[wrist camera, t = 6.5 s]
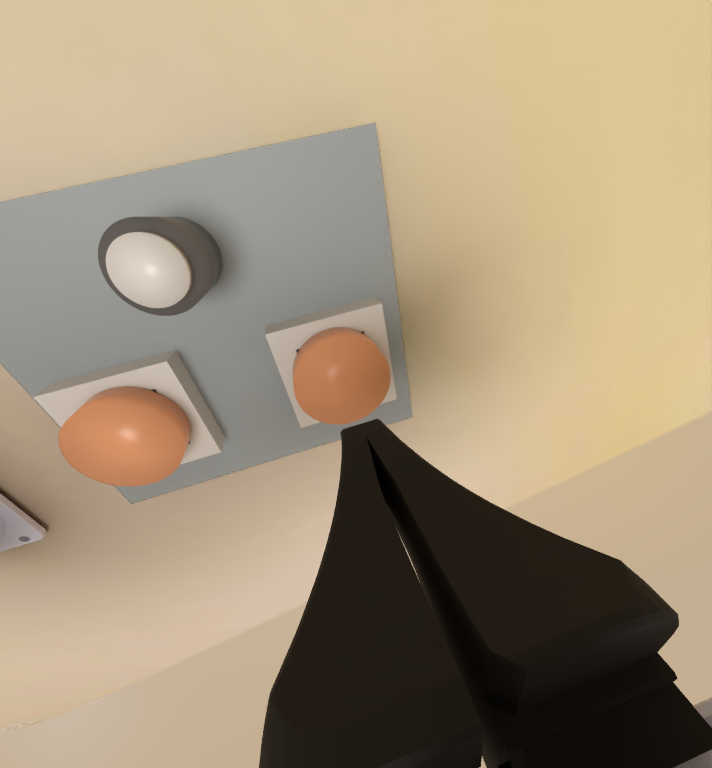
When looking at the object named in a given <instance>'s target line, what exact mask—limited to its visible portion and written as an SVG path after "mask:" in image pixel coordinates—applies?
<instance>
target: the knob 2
mask: <svg viewBox="0 0 712 768" xmlns="http://www.w3.org/2000/svg"><path fill="white" fill-rule="evenodd" d="M292 374H293V385H294V393H295V397H296V400H297V402H298V404H299V405H300V407H301V408H302V409H303V411H304V412H305V413H307V414H308V415H309V416H310V417H312V418H313V419H315V420H318V421H320V422H323V423H327V424H336V425H337V424H348V423H352V422H355V421H358V420H360V419H362V418H364V417H366V416H368V415H369V414H371V413H372V412H373V411H374V410H375V409H376V408H377V407H378V406H379V405H380V404H381V403H382V401H383V400H384V398H385V396H386V394H387V392H388V389H389V386H390V378H391V375H390V368H389V365H388V362H387V360H386V358H385V356H384V355H383V354H382V352H381V351H380V350H379V348H378V347H377V346H376V344H375V343H374V342H373V341H372V340H371V339H370V338H369V337H368V336H367V335H365V334H364V333H362V332H360V331H357V330H354V329H350V328H341V327H340V328H331V329H327V330H324V331H321V332H319V333H317V334H315V335H314V336H312V337H311V338H309V339H308V340H307V341H306V342H305V343H304V344H303V345H302V346H301V348H300V349H299V351H298V352H297V355H296V357H295V359H294V363H293V371H292Z"/></svg>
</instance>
